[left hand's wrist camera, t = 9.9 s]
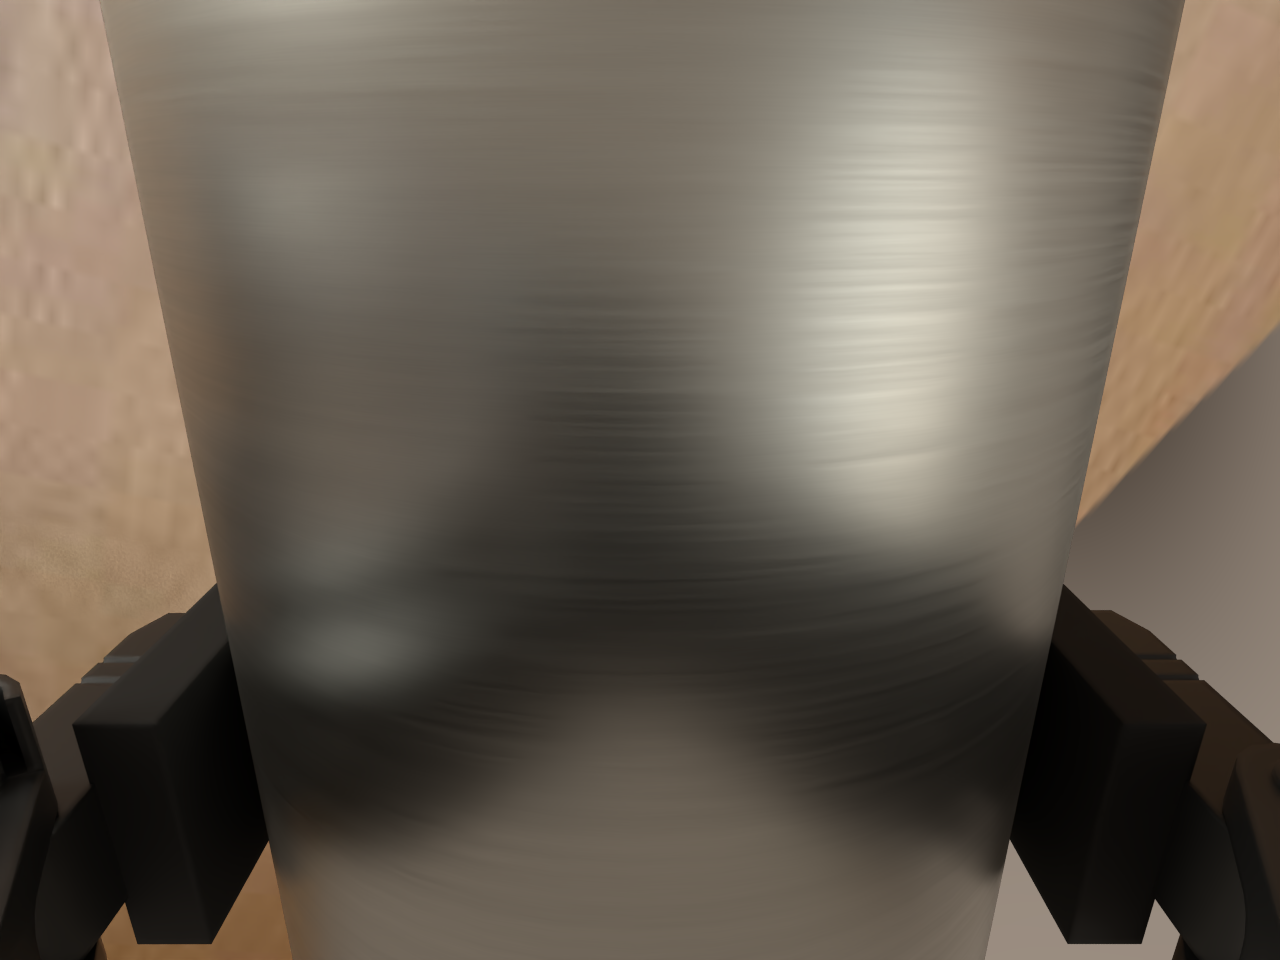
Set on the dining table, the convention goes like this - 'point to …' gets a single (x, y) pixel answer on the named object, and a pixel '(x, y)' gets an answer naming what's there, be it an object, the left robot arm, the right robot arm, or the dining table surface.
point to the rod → (640, 444)
